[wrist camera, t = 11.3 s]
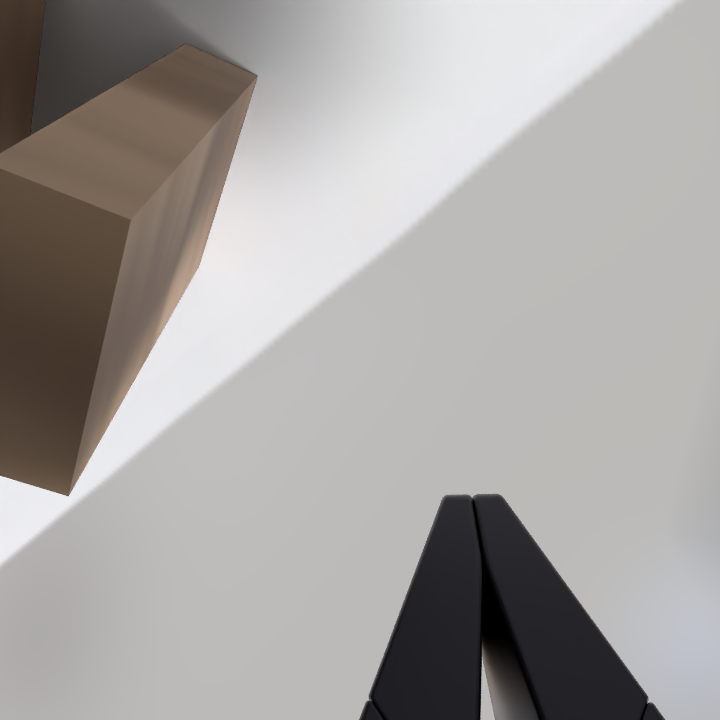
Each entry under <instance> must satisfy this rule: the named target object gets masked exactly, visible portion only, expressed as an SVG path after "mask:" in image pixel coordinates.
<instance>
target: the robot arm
mask: <svg viewBox="0 0 720 720" xmlns="http://www.w3.org/2000/svg"><path fill="white" fill-rule="evenodd" d="M482 657H483V663H484V667H485V672H486V678H487V682H488V687H489V692H490V697H491V702H492V706H493V711H494V716H495V720H665V719H664V718H663V716H662V715H661V713H660V712H659V711H658V709H657V708H656V706H655V705H654V704H653V703H651V702H650V703H648V696H647V694H646V693H645V692H644V690H643V689H642V688H641V686H640V685H639V684H638V682H637V681H636V679H635V678H634V677H633V675H632V674H631V672H630V671H629V670H628V668H627V667H626V666H625V664H624V663H623V662H622V660H621V659H620V657H619V656H618V655H617V653H616V652H615V650H614V649H613V648H612V646H611V645H610V644H609V642H608V641H607V640H606V638H605V637H604V635H603V634H602V633H601V631H600V630H599V628H598V627H597V626H596V624H595V623H594V621H593V620H592V619H591V617H590V616H589V615H588V613H587V612H586V610H585V609H584V608H583V607H582V605H581V604H580V602H579V601H578V600H577V598H576V597H575V595H574V594H573V593H572V591H571V590H570V588H569V587H568V586H567V584H566V583H565V582H564V580H563V579H562V578H561V576H560V575H559V573H558V572H557V571H556V569H555V568H554V566H553V565H552V564H551V562H550V561H549V560H548V558H547V557H546V556H545V554H544V553H543V551H542V550H541V549H540V547H539V546H538V544H537V543H536V542H535V540H534V539H533V538H532V536H531V535H530V534H529V532H528V531H527V529H526V528H525V527H524V525H523V524H522V523H521V521H520V520H519V518H518V517H517V516H516V514H515V513H514V511H513V510H512V509H511V507H510V506H509V505H508V503H507V502H506V501H505V499H504V498H503V497H502V496H501V495H499V494H477V495H475V496H473V498H471V496H469V495H446V496H444V498H443V499H442V501H441V504H440V506H439V509H438V512H437V514H436V517H435V520H434V522H433V525H432V528H431V530H430V533H429V536H428V538H427V541H426V544H425V546H424V549H423V552H422V554H421V557H420V560H419V562H418V565H417V568H416V571H415V573H414V576H413V578H412V581H411V584H410V587H409V589H408V592H407V595H406V597H405V600H404V603H403V605H402V608H401V610H400V613H399V616H398V618H397V621H396V624H395V626H394V629H393V632H392V635H391V637H390V640H389V643H388V646H387V648H386V651H385V653H384V656H383V659H382V662H381V664H380V667H379V669H378V672H377V675H376V677H375V680H374V683H373V686H372V688H371V691H370V693H369V701H367V702H366V703H365V706H364V708H363V711H362V714H361V716H360V719H359V720H480V712H481V711H480V710H481V668H482ZM647 703H648V704H647Z"/></svg>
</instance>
